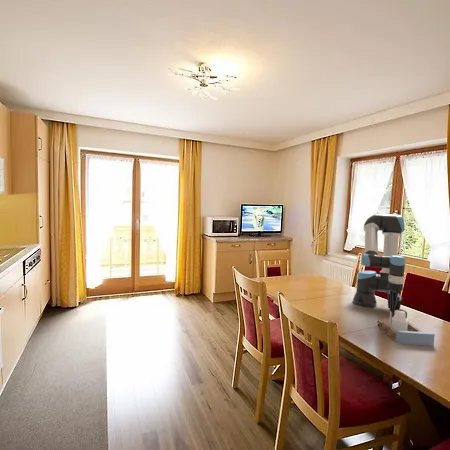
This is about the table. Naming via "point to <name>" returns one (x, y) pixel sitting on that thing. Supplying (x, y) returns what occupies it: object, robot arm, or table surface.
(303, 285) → the table surface
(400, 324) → the medicine bottle
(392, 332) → the guide channel
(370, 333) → the table surface
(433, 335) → the end stop
